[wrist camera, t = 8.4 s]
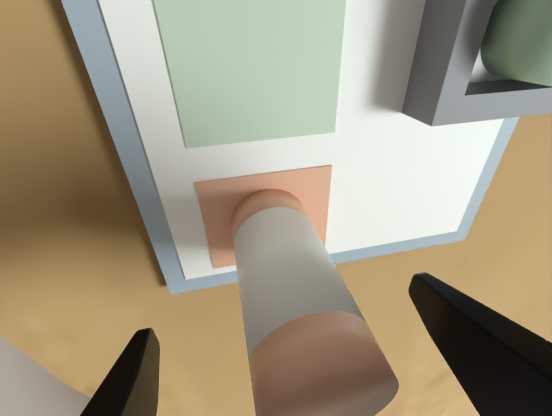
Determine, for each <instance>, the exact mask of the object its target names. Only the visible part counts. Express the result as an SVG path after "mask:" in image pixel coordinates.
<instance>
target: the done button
mask: <svg viewBox="0 0 552 416" xmlns="http://www.w3.org/2000/svg"><path fill="white" fill-rule="evenodd" d="M480 54H481V60H482V63H483V66H484V67H485V69H486V70H487V71H488V73H490V74H491V75H493V76H496V77H501V78H507V79H513V80H518V81H524V82H530V83H535V84H541V85H547V86H552V0H498V1H497V2H496V4H495V5H494V7H493V9H492V12H491V15H490V18H489V22H488V25H487V28H486V31H485V34H484V37H483V40H482V43H481V46H480Z"/></svg>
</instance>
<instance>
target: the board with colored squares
mask: <svg viewBox="0 0 552 416" xmlns="http://www.w3.org/2000/svg"><path fill="white" fill-rule="evenodd" d="M61 1H62V4H63V7H64V9H65V12H66V15H67V17H68V20H69V23H70V25H71V28H72V31H73V34H74V36H75V39H76V42H77V44H78V47H79V50H80V52H81V55H82V58H83V60H84V63H85V66H86V68H87V71H88V74H89V77H90V79H91V82H92V85H93V87H94V90H95V93H96V95H97V98H98V101H99V103H100V106H101V109H102V111H103V114H104V117H105V120H106V122H107V125H108V128H109V130H110V133H111V136H112V138H113V141H114V144H115V146H116V149H117V152H118V154H119V157H120V160H121V163H122V165H123V168H124V171H125V173H126V176H127V179H128V181H129V184H130V187H131V189H132V192H133V195H134V197H135V200H136V203H137V205H138V208H139V211H140V214H141V216H142V219H143V222H144V224H145V227H146V230H147V232H148V235H149V238H150V240H151V243H152V246H153V248H154V251H155V254H156V257H157V259H158V262H159V265H160V267H161V270H162V273H163V275H164V278H165V281H166V283H167V286H168V289H169V291H170V294H171V295H172V294H177V293H182V292H188V291H193V290H199V289H204V288H209V287H215V286H220V285H225V284H231V283H236V282H238V277H237V269H236V262H235V254H234V247H233V239H232V232H231V218H232V214H233V212H234V210H235V208H236V207H237V205H238V204H239V203H240V202H241V201H242V200H243V199H245V198H246V197H247V196H249V195H251V194H253V193H255V192H258V191H261V190H265V189H279V190H284V191H287V192H289V193H291V194H293V195H294V196H295V197H296V198H298V200H299V201H300V202H301V204H302V206H303V207H304V209H305V211H306V213H307V215H308V217H309V218H310V220H311V222H312V224H313V226H314V228H315V229H316V231H317V233H318V235H319V237H320V239H321V240H322V242H323V244H324V246H325V248H326V250H327V251H328V253H329V255H330V257H331V259H332V261H333V262H334V264H338V263H344V262H349V261H354V260H360V259H365V258H371V257H376V256H381V255H387V254H392V253H397V252H403V251H408V250H414V249H419V248H424V247H430V246H435V245H440V244H446V243H451V242H457V241H462V240H465V237H466V235H467V233H468V231H469V229H470V226H471V224H472V222H473V220H474V217H475V215H476V213H477V211H478V208H479V206H480V204H481V202H482V200H483V197H484V195H485V193H486V191H487V188H488V186H489V184H490V182H491V179H492V177H493V175H494V173H495V171H496V168H497V166H498V164H499V162H500V159H501V157H502V155H503V153H504V150H505V148H506V146H507V144H508V142H509V139H510V137H511V135H512V133H513V130H514V128H515V126H516V124H517V121H518V119H519V117H522V116H531V115H540V114H549V113H552V86H547V85H541V84H535V83H530V82H524V81H518V80H513V79H507V78H501V77H496V76H493V75H491V74H490V73H488V71H487V70H486V69H485V67H484V66H483V63H482V60H481V54H480V46H481V43H482V40H483V37H484V34H485V31H486V28H487V25H488V22H489V18H490V15H491V12H492V9H493V7H494V5H495V4H496V2H497V1H498V0H61Z"/></svg>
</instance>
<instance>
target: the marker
mask: <svg viewBox="0 0 552 416" xmlns="http://www.w3.org/2000/svg"><path fill="white" fill-rule="evenodd" d="M231 232H232V239H233V247H234V254H235V262H236V269H237V277H238V284H239V292H240V299H241V307H242V314H243V322H244V329H245V337H246V344H247V352H248V359H249V367H250V374H251V382H252V389H253V397H254V404H255V412H256V416H374V415H376V414H377V413H378V412H380V411H381V410H382V409H383V408H385V407H386V406H387V405H388V404H389V403H390V402H391V401H392V399H393V398H394V397H395V395H396V393H397V391H398V387H399V383H398V380H397V378H396V376H395V374H394V372H393V371H392V369H391V367H390V365H389V363H388V361H387V360H386V358H385V356H384V354H383V352H382V350H381V349H380V347H379V345H378V343H377V341H376V339H375V338H374V336H373V334H372V332H371V330H370V328H369V327H368V325H367V323H366V321H365V319H364V317H363V316H362V314H361V312H360V310H359V308H358V306H357V305H356V303H355V301H354V299H353V297H352V295H351V294H350V292H349V290H348V288H347V286H346V284H345V283H344V281H343V279H342V277H341V275H340V273H339V272H338V270H337V268H336V266H335V264H334V262H333V261H332V259H331V257H330V255H329V253H328V251H327V250H326V248H325V246H324V244H323V242H322V240H321V239H320V237H319V235H318V233H317V231H316V229H315V228H314V226H313V224H312V222H311V220H310V218H309V217H308V215H307V213H306V211H305V209H304V207H303V206H302V204H301V202H300V201H299V200H298V198H296V197H295V196H294V195H293V194H291V193H289V192H287V191H284V190H279V189H265V190H261V191H258V192H255V193H253V194H251V195H249V196H247V197H246V198H245V199H243V200H242V201H241V202H240V203H239V204H238V205H237V207H236V208H235V210H234V212H233V214H232V218H231Z"/></svg>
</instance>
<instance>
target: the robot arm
mask: <svg viewBox="0 0 552 416" xmlns="http://www.w3.org/2000/svg"><path fill="white" fill-rule="evenodd" d="M409 295H410V297H411V299H412V301H413V303H414V305H415V307H416V309H417V311H418V313H419V315H420V317H421V319H422V321H423V323H424V325H425V327H426V329H427V331H428V333H429V335H430V336H431V338H432V340H433V341H434V343H435V345H436V346H437V348H438V349H439V351H440V353H441V354H442V356H443V357H444V359H445V361H446V362H447V364H448V365H449V367H450V368H451V370H452V372H453V373H454V375H455V376H456V378H457V380H458V381H459V383H460V384H461V386H462V388H463V389H464V391H465V392H466V394H467V396H468V397H469V399H470V400H471V402H472V404H473V405H474V407H475V408H476V410H477V411H478V413H479V415H480V416H552V343H551V342H549V341H546V340H545V339H544V338H542V337H540V336H539V335H537V334H535V333H533V332H531V331H530V330H528V329H526V328H524V327H523V326H521V325H519V324H517V323H515V322H514V321H512V320H510V319H508V318H507V317H505V316H503V315H501V314H499V313H498V312H496V311H494V310H492V309H491V308H489V307H487V306H485V305H483V304H482V303H480V302H478V301H476V300H474V299H473V298H471V297H469V296H467V295H466V294H464V293H462V292H460V291H458V290H457V289H455V288H453V287H451V286H450V285H448V284H446V283H444V282H442V281H441V280H439V279H437V278H435V277H434V276H432V275H430V274H428V273H425V272H422V273H417V274H414V275H413V277H412V280H411V283H410V286H409ZM159 357H160V346H159V342H158V339H157V337H156V335H155V333H154V331H153V329H152V328H146V329H141V330H138V331H137V332H136V333H135V334H134V336H133V337H132V339H131V340H130V342H129V343H128V345H127V346H126V348H125V349H124V351H123V352H122V353H121V355H120V356H119V358H118V359H117V361H116V362H115V364H114V365H113V367H112V368H111V370H110V371H109V373H108V374H107V376H106V377H105V379H104V380H103V382H102V383H101V385H100V386H99V388H98V389H97V391H96V392H95V394H94V395H93V397H92V398H91V400H90V402H89V403H88V404H87V406H86V408H85V409H84V410H83V412H82V413H81V415H80V416H156V413H157V405H158V388H159Z"/></svg>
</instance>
